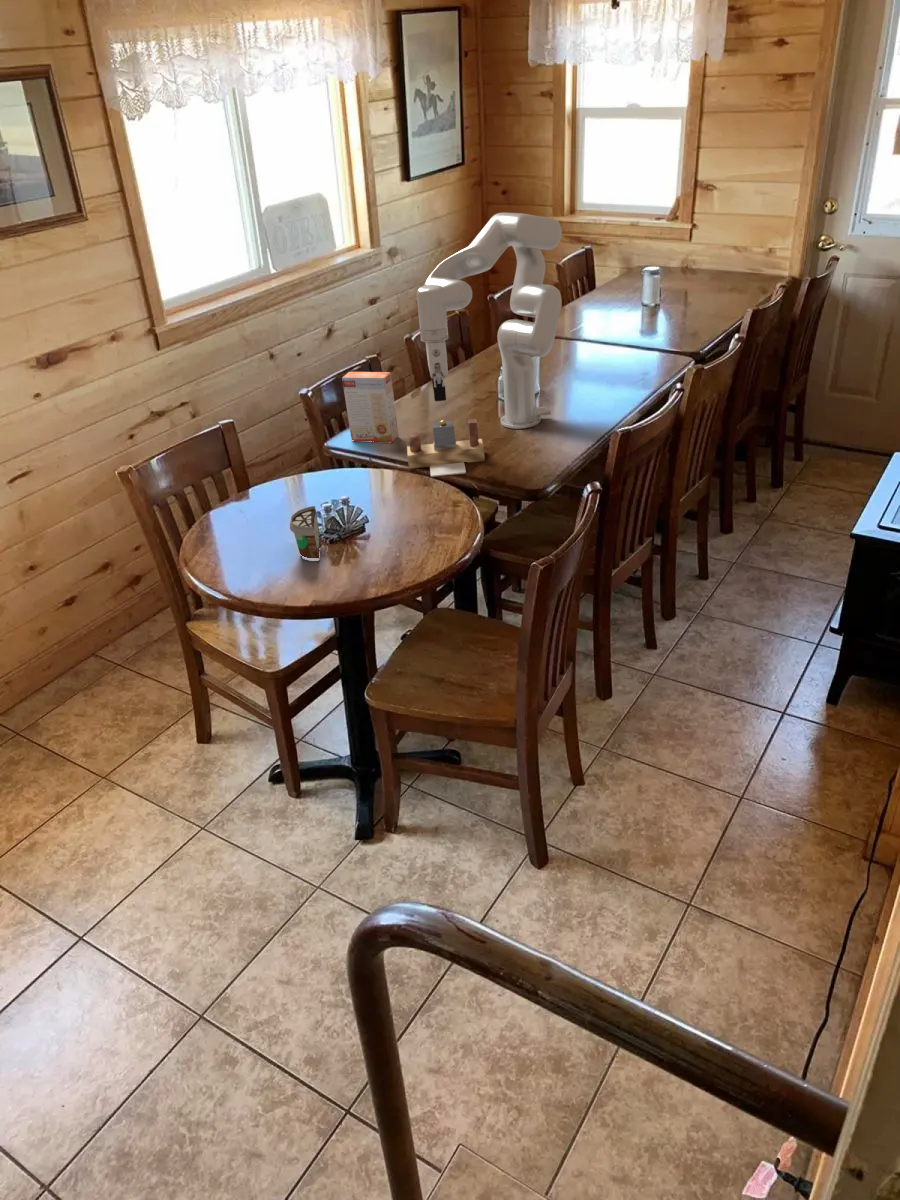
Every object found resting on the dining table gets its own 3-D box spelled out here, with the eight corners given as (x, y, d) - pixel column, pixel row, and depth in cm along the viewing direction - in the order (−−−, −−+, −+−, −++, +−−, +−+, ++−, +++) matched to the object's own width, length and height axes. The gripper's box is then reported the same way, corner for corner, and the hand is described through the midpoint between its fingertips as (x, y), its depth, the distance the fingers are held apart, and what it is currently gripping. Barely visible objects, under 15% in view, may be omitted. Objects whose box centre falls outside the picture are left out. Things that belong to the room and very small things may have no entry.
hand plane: (482, 451, 265) (480, 415, 259) (484, 460, 259) (482, 424, 254) (408, 459, 265) (404, 423, 259) (409, 468, 259) (404, 432, 253)
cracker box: (399, 436, 281) (391, 371, 270) (392, 444, 276) (383, 378, 265) (358, 434, 285) (349, 370, 274) (351, 442, 281) (341, 376, 270)
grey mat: (464, 463, 259) (464, 462, 259) (466, 473, 253) (466, 472, 253) (429, 467, 259) (429, 465, 259) (430, 477, 253) (430, 475, 253)
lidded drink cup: (297, 543, 225) (290, 507, 220) (321, 540, 226) (315, 504, 220) (294, 567, 215) (286, 530, 210) (319, 564, 215) (312, 527, 210)
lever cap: (454, 438, 261) (452, 417, 258) (455, 444, 257) (453, 422, 254) (433, 440, 261) (431, 419, 258) (434, 446, 257) (432, 424, 254)
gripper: (449, 341, 235) (454, 403, 244) (446, 324, 250) (450, 383, 259) (421, 343, 235) (427, 406, 244) (419, 326, 250) (425, 386, 259)
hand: (439, 394), depth 252 cm, fingers open, 9 cm apart
